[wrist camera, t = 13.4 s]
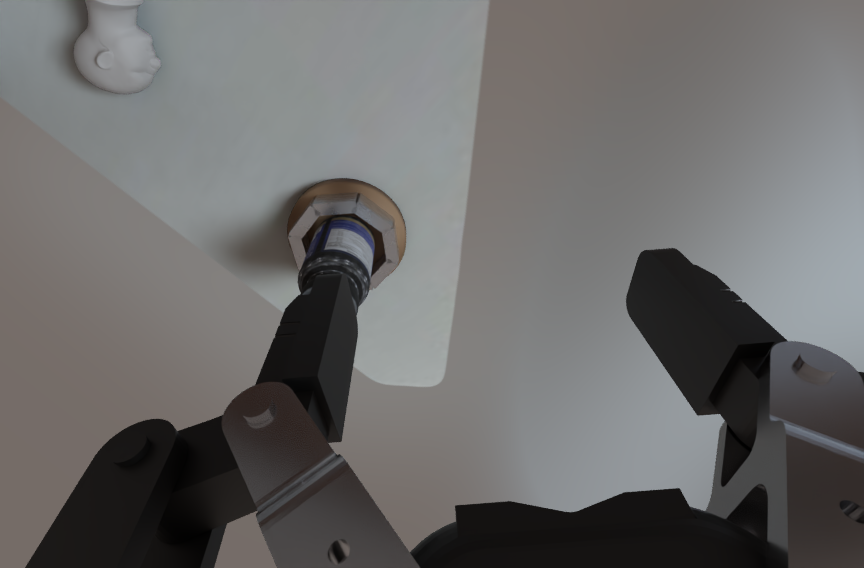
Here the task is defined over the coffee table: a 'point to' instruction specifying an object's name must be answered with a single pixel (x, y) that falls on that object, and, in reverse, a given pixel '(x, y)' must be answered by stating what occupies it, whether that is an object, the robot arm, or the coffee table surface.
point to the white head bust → (116, 48)
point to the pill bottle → (340, 255)
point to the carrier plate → (356, 203)
